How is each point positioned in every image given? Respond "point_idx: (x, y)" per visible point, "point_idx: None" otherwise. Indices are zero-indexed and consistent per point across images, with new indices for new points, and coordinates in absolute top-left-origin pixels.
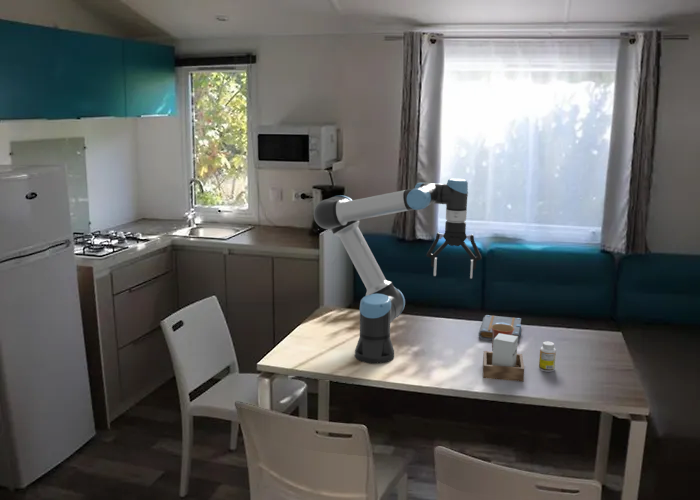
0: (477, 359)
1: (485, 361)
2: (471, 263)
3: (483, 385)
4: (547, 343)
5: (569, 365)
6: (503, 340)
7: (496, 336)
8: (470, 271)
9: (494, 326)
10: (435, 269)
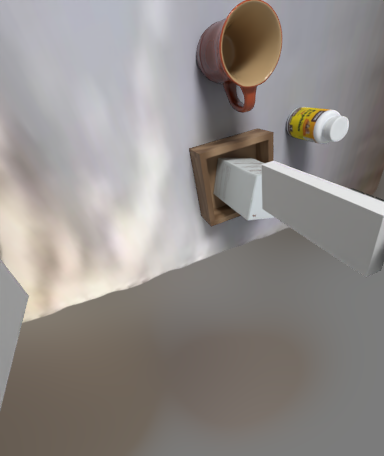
0: (174, 132)
1: (211, 207)
2: (352, 264)
3: (206, 239)
4: (337, 131)
5: (335, 80)
6: (266, 218)
7: (252, 201)
8: (293, 229)
9: (225, 28)
10: (14, 342)
